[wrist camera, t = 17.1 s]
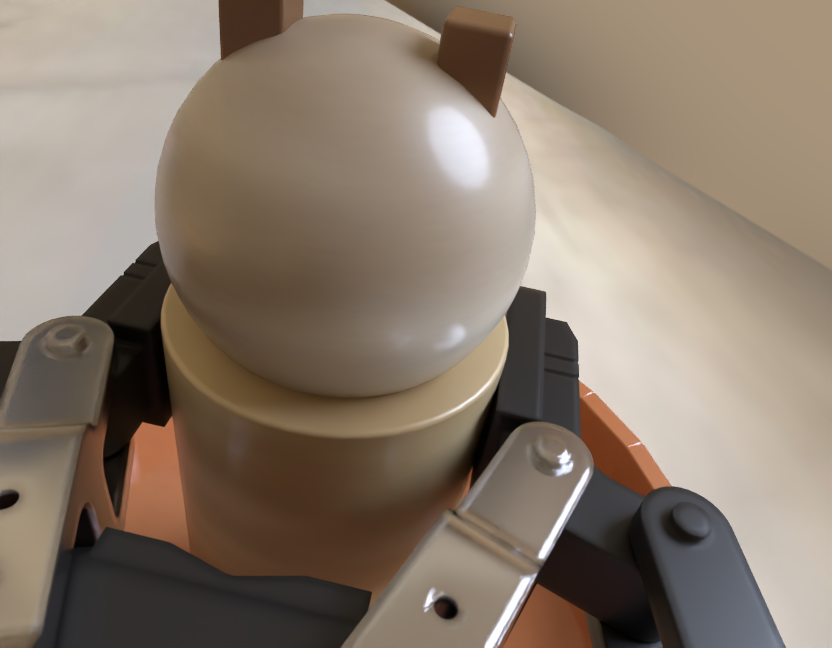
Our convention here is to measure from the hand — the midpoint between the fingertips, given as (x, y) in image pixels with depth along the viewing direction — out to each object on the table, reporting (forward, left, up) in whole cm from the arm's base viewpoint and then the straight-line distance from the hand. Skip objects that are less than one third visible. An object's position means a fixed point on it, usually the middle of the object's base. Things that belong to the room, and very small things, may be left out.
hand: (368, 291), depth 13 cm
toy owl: (0, -3, -7) cm, 8 cm away
